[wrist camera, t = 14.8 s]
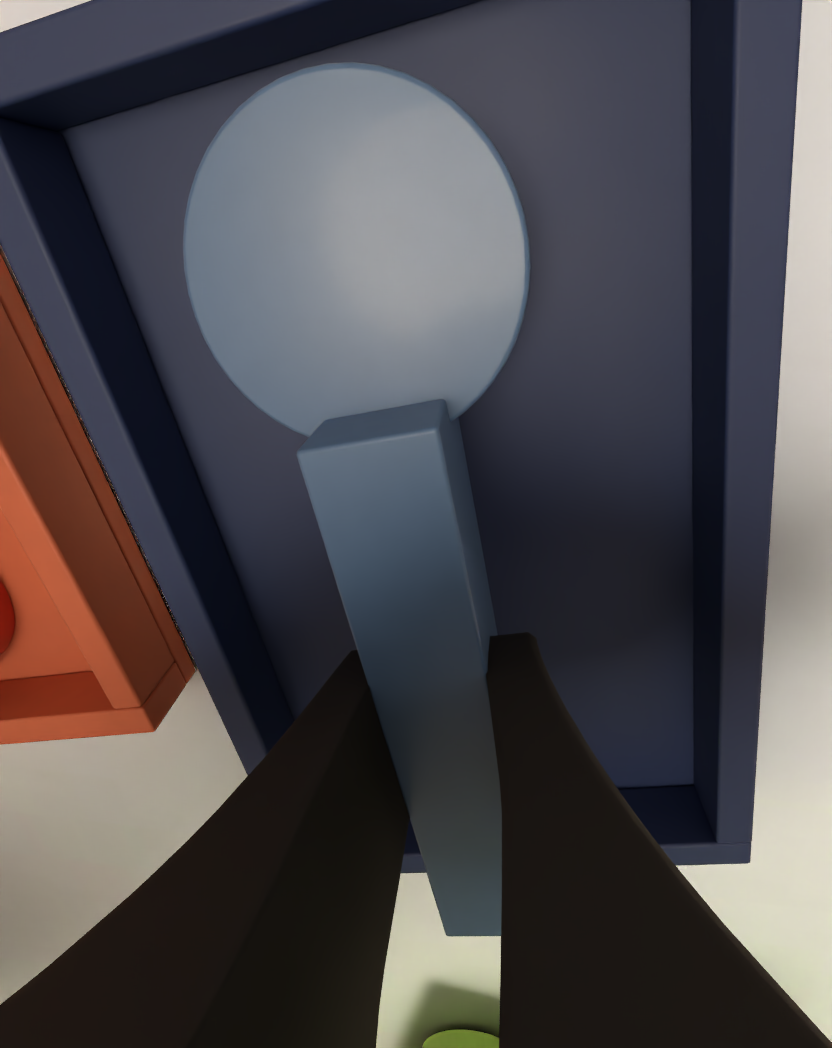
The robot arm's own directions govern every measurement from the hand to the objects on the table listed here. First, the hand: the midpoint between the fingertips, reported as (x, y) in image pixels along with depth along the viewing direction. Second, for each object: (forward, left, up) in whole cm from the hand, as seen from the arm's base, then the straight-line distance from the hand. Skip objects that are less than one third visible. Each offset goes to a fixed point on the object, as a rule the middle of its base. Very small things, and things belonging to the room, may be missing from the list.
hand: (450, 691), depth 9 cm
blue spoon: (+2, 0, -1) cm, 2 cm away
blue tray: (+1, 0, -3) cm, 4 cm away
